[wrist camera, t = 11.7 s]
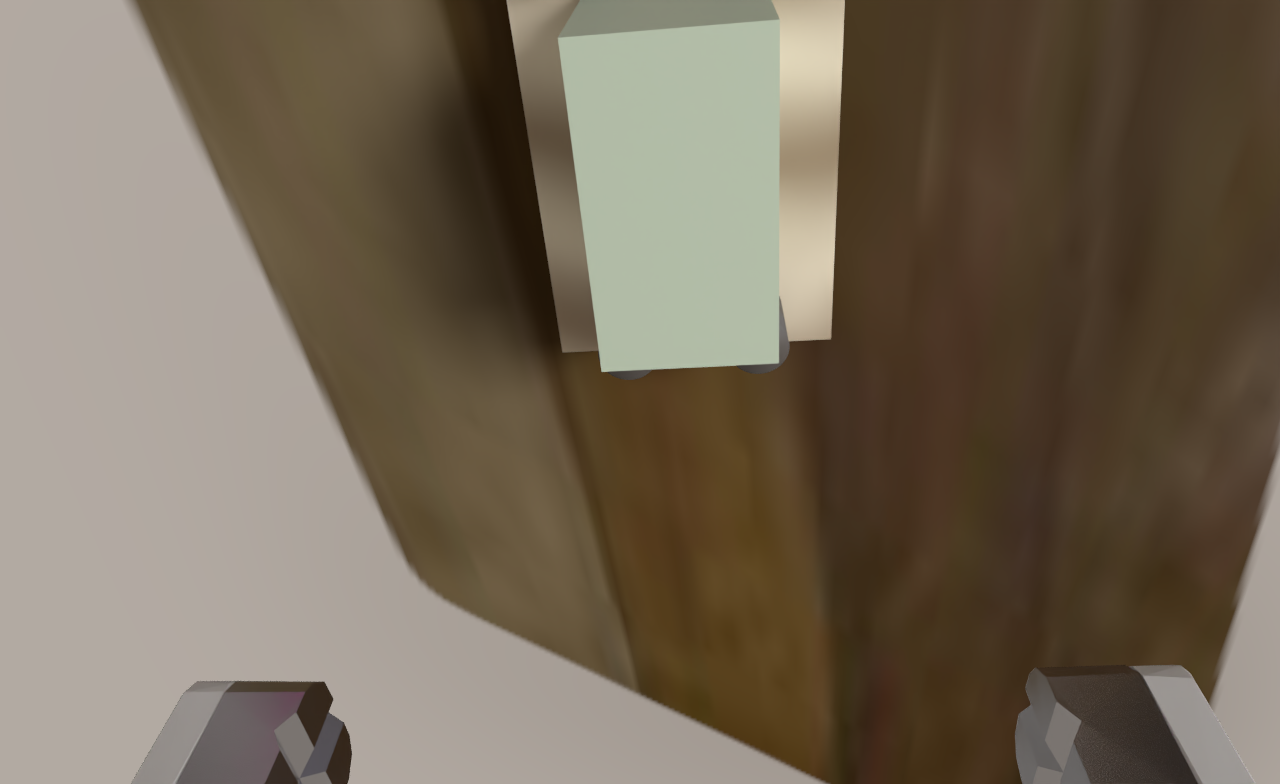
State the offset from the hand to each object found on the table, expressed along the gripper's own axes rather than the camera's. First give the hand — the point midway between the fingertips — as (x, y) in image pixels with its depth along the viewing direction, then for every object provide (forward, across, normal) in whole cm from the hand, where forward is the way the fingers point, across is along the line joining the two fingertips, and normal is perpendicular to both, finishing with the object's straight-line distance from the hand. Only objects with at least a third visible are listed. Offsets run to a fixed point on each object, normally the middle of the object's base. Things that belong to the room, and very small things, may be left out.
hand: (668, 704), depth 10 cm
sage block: (+21, 0, 0) cm, 21 cm away
